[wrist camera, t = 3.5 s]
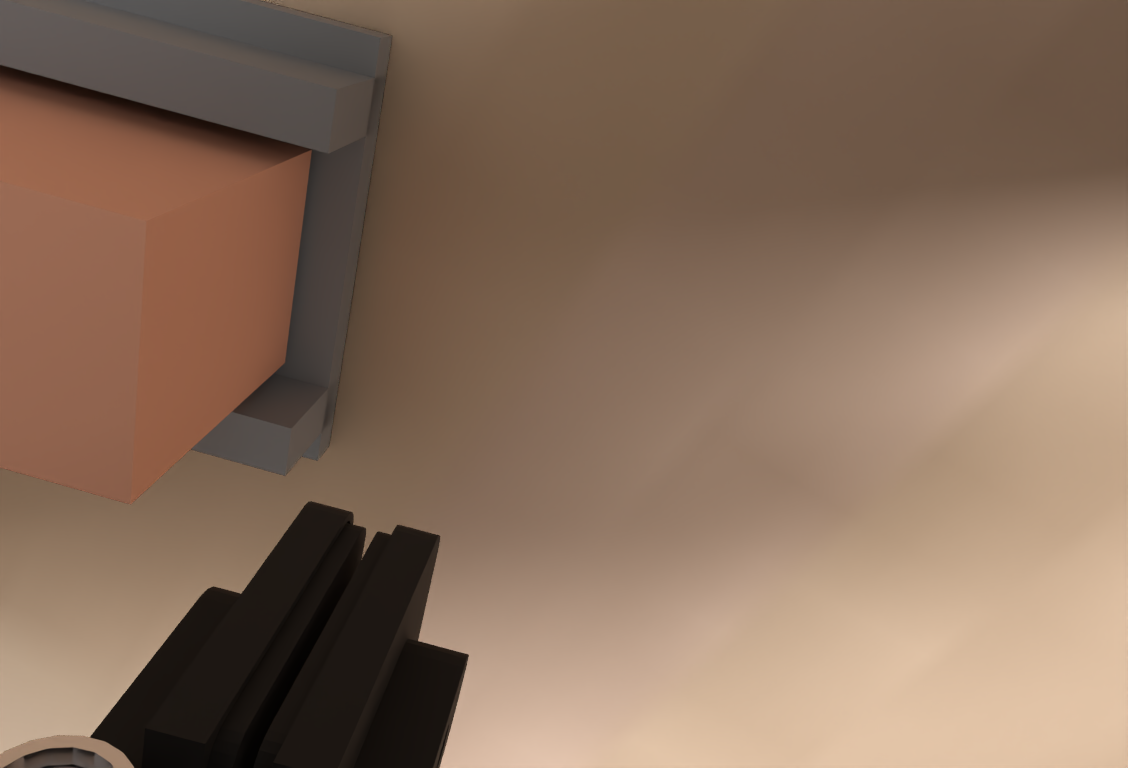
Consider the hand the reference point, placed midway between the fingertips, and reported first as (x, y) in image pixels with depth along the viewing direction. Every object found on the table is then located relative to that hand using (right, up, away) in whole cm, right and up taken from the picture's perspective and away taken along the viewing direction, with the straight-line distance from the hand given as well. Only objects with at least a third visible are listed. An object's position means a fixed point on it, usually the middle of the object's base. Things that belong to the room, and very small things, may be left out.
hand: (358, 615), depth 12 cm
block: (-7, +7, +9) cm, 13 cm away
